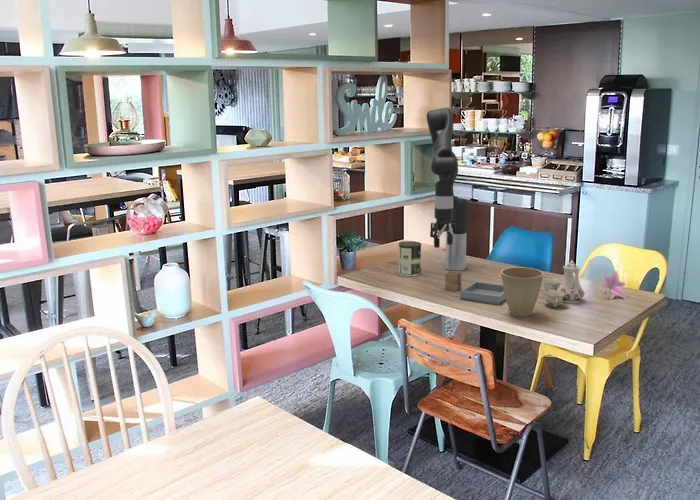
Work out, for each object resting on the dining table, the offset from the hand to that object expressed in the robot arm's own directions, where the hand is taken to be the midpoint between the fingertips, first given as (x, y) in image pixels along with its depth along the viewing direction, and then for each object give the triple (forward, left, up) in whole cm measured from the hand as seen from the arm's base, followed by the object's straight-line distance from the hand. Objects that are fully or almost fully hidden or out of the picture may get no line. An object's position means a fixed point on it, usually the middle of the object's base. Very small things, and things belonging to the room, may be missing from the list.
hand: (443, 245), depth 271 cm
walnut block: (-4, +3, -19) cm, 20 cm away
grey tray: (0, +19, -19) cm, 27 cm away
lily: (-24, +63, -19) cm, 70 cm away
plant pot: (+14, +37, -19) cm, 44 cm away
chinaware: (-11, +46, -19) cm, 51 cm away
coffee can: (-18, -24, -19) cm, 35 cm away
